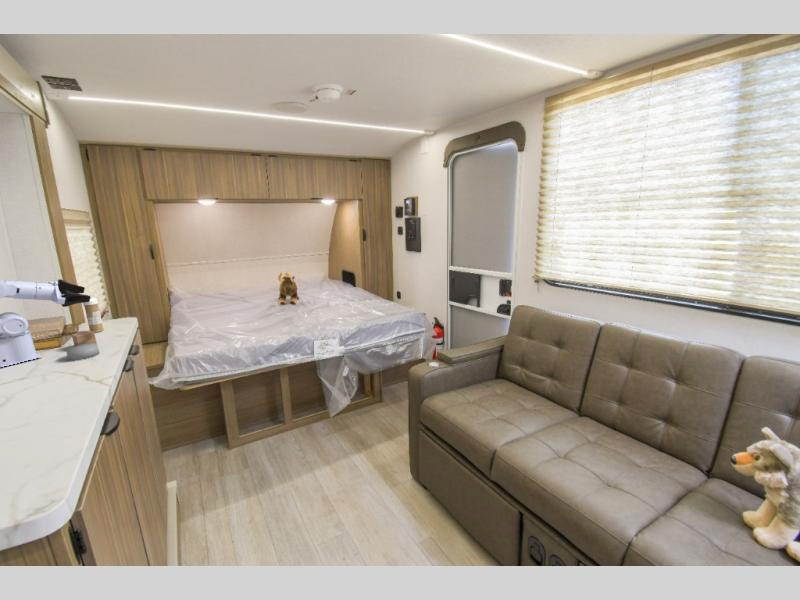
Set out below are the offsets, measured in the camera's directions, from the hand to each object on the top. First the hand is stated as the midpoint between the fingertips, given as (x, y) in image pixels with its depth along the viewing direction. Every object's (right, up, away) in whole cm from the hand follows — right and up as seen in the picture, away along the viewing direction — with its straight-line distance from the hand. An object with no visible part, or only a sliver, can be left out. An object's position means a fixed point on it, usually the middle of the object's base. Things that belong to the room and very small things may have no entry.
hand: (86, 294), depth 131 cm
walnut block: (0, -19, 0) cm, 19 cm away
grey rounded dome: (+7, -21, -10) cm, 24 cm away
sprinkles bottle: (-10, -15, +17) cm, 25 cm away
